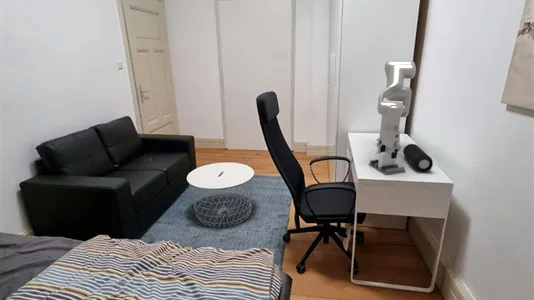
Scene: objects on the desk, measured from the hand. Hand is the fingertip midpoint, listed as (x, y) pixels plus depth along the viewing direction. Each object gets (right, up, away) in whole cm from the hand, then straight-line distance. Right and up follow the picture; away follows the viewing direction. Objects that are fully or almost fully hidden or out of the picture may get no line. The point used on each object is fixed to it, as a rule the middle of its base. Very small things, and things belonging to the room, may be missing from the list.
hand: (388, 155), depth 170 cm
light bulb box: (+11, +1, +27) cm, 29 cm away
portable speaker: (+20, -6, +8) cm, 22 cm away
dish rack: (0, -8, +2) cm, 8 cm away
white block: (0, -7, +2) cm, 7 cm away
